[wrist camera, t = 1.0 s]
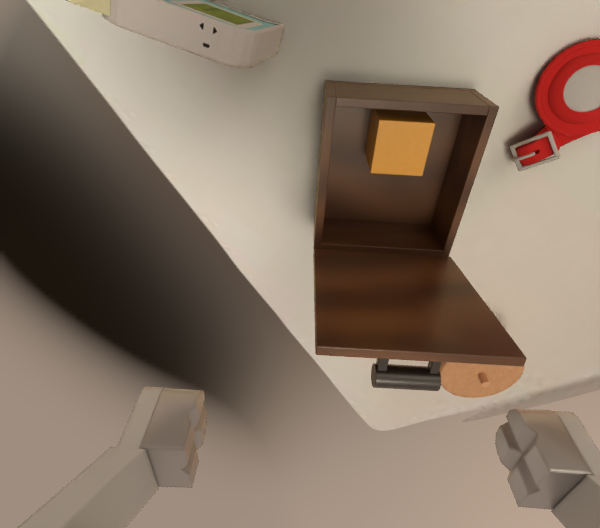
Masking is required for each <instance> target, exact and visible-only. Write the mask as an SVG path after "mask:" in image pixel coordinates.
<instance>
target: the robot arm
mask: <svg viewBox="0 0 600 528" xmlns="http://www.w3.org/2000/svg"><path fill="white" fill-rule="evenodd" d="M204 399H205V397H204V392H203V391H199V390H186V389H172V388H161V387H144V388H143V390H142V391H141V392H140V394H139V396H138V399H137V401H136V404H135V406H134V408H133V410H132V413H131V415H130V417H129V420H128V422H127V425H126V427H125V429H124V431H123V434H122V436H121V438H120V441H119V443H118V445H117V447H110V448H109V449H108V450H107V451H105V452H104V453H103V454H102V455H101V456H100V457H99V458H97V459H96V460H95V461H94V462H93V463H92V464H90V465H89V466H88V467H87V468H86V469H85V470H83V471H82V472H81V473H80V474H79V475H78V476H76V478H74V479H73V480H72V481H71V482H70V483H68V484H67V485H66V486H65V487H64V488H63V489H61V490H60V491H59V492H58V493H57V494H56V495H55V496H53V497H52V498H51V499H50V500H49V501H48V502H47V503H45V504H44V505H43V506H42V507H41V508H39V509H38V510H37V511H36V512H35V513H34V514H33V515H31V516H30V517H29V518H28V519H27V520H26V521H25V522H23V523H22V524H21V525H20V526H19V527H18V528H126V527H127V526H128V525H129V524H130V522H131V521H132V520H133V519H134V518H135V516H136V515H137V514H138V513H139V512H140V511H141V509H142V508H143V507H144V506H145V505H146V503H147V502H148V501H149V500H150V499H151V497H152V496H153V495H154V494H155V493H156V491H157V490H158V487H187V488H192V486H193V482H194V478H195V474H196V470H197V466H198V462H199V460H198V454H197V450H198V449H199V448H200V447H201V446H202V445H203V441H204V437H205V432H206V425H207V410H206V408H205V407H204V406H203V403H204ZM506 417H507V420H508V422H507V423H505V424H503V425H501V426H500V427H499V429H498V431H497V433H496V443H495V444H496V449H497V453H498V456H499V459H500V461H501V463H502V464H503V465H504V466H505V467H506V468H508V469H509V470H510V473H509V476H508V482H509V484H510V487H511V490H512V492H513V494H514V497H515V499H516V502H517V505H518V507H529V508H540V509H551V510H552V513H553V514H554V515H555V516H556V517H557V518H558V519H559V521H560V522H561V523H562V524H563V525H564V526H565V527H566V528H600V452H599V450H598V448H597V447H596V445H595V443H594V442H593V440H592V438H591V437H590V435H589V434H588V432H587V430H586V429H585V427H584V425H583V424H582V422H581V421H580V419H579V418H578V416H576V415H575V414H574V413H572V412H561V411H550V410H529V409H513V410H510V411H509V413H508V414H507V416H506Z"/></svg>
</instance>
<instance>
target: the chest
mask: <svg viewBox="0 0 600 528" xmlns="http://www.w3.org/2000/svg"><path fill="white" fill-rule="evenodd" d="M372 109H383V110H399V111H416V112H427V114H428V115H429V116H430V117H431V119H432V120H433V121H434V122H435V128H434V132H433V136H432V140H431V144H430V148H429V152H428V156H427V159H426V163H425V167H424V171H423V175H422V176H411V175H394V174H377V173H370V169H369V166H368V162H367V159H366V155H365V151H366V145H367V138H368V132H369V125H370V119H371V112H372ZM498 109H499V107H498V106H497V105H496V104H494V103H493V102H491V101H490V100H489V99H487V98H486V97H484V96H483V95H482V94H480V93H479V92H477V91H476V90H475V89H459V88H443V87H426V86H410V85H393V84H376V83H360V82H343V81H327V80H326V81H325V88H324V101H323V113H322V125H321V137H320V150H319V162H318V174H317V187H316V199H315V211H314V249H327V250H344V251H361V252H378V253H395V254H412V255H430V256H447V257H448V256H449V253H450V250H451V247H452V245H453V242H454V239H455V236H456V233H457V230H458V227H459V224H460V221H461V218H462V215H463V212H464V209H465V206H466V203H467V200H468V197H469V194H470V192H471V189H472V186H473V183H474V180H475V177H476V174H477V171H478V168H479V165H480V162H481V159H482V156H483V153H484V150H485V147H486V144H487V141H488V139H489V136H490V133H491V130H492V127H493V124H494V121H495V118H496V115H497V112H498Z"/></svg>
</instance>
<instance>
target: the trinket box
mask: <svg viewBox="0 0 600 528" xmlns="http://www.w3.org/2000/svg"><path fill="white" fill-rule="evenodd" d="M523 370H524V366H523V367H522V366H504V365H487V364H469V363H451V362H442V363H441V366H440V370H439V371H440V374H441V385H442V386H443V388H444V389H446V390H447V391H448V392H450V393H452V394H454V395H457V396H461V397H470V398H475V397H485V396H489V395H493V394H496V393H499V392H501V391H503V390H505V389H507V388H509V387H510V386H512V385H513V384H514V383H515V382H517V380H518V379H519V378H520V377H521V375H522V373H523Z"/></svg>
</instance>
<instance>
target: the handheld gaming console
mask: <svg viewBox="0 0 600 528" xmlns="http://www.w3.org/2000/svg"><path fill="white" fill-rule="evenodd" d="M66 1H69V2H71V3H74V4H76V5H79V6H82V7H85V8H88V9H90V10H93V11H96V12H99V13H101V14H102V16H103V17H104V18H105V19H107V20H108V21H110V22H111V23H113V24H115V25H117V26H119V27H122V28H124V29H127V30H129V31H132V32H135V33H138V34H141V35H143V36H146V37H149V38H152V39H155V40H158V41H160V42H163V43H166V44H169V45H171V46H174V47H177V48H179V49H182V50H185V51H188V52H190V53H193V54H196V55H199V56H201V57H204V58H207V59H210V60H212V61H215V62H218V63H221V64H224V65H228V66H232V67H237V68H252V67H253V66H255V65H257V64H259V63H261V62H263V61H265V60H266V59H268V58H270V57H272V56H274V55H276V54H277V53H278V51H279V47H280V43H281V38H282V34H283V30H284V25H283V24H280V23H274V22H270V21H267V20H263V19H261V18H258V17H255V16H252V15H250V14H247V13H244V12H241V11H239V10H236V9H233V8H230V7H228V6H225V5H222V4H220V3H217V2H214V1H211V0H66Z"/></svg>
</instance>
